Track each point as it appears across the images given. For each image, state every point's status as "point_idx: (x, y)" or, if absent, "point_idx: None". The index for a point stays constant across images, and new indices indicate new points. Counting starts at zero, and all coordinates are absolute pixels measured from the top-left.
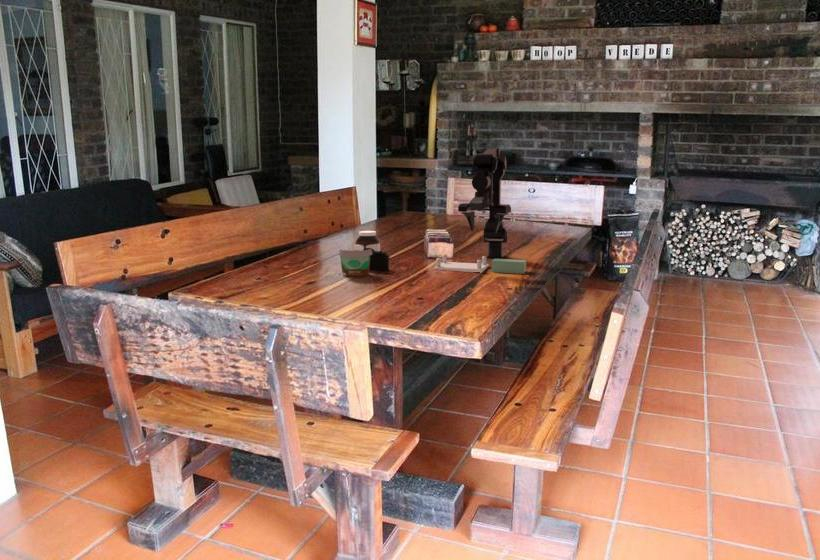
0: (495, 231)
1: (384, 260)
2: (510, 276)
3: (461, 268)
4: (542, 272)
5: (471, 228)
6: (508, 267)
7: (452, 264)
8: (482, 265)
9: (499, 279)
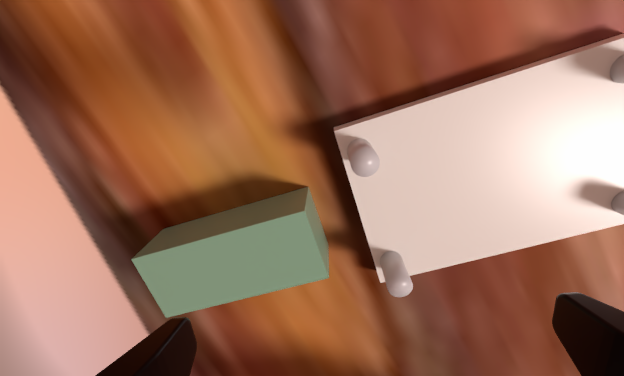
0: (165, 324)
1: None
2: (165, 134)
3: (454, 92)
4: (124, 291)
5: (611, 314)
6: (221, 222)
7: (555, 174)
8: (385, 232)
9: (154, 19)
